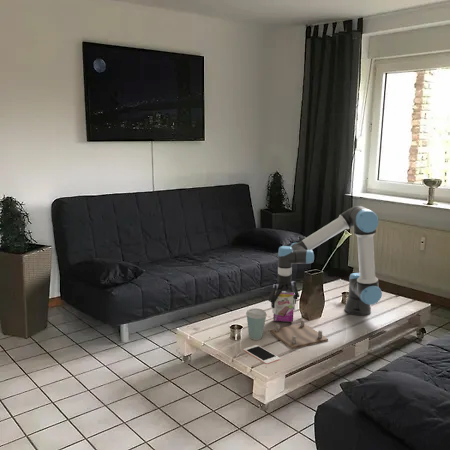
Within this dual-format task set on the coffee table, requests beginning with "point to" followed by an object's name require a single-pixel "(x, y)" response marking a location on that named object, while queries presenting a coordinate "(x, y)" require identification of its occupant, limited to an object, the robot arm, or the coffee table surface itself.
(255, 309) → the disposable coffee cup
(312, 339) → the pin dock
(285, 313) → the candy bar box
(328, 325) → the coffee table surface
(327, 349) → the coffee table surface
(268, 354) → the cell phone
